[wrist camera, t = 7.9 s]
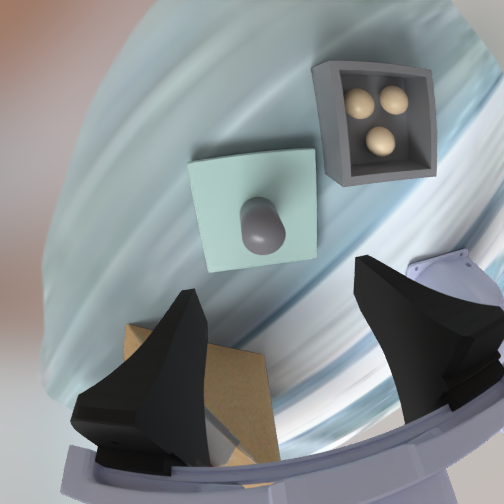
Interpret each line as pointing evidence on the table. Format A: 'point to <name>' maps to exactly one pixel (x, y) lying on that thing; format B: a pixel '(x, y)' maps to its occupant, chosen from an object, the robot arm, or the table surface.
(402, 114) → the box
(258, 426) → the sandwich container
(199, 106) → the table surface
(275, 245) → the lid
